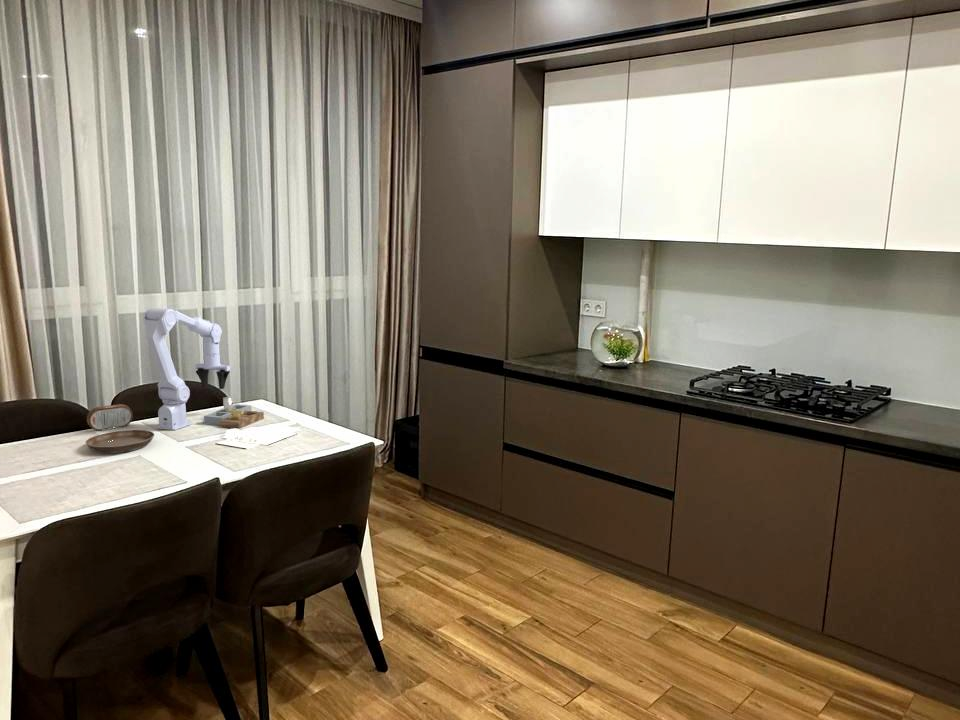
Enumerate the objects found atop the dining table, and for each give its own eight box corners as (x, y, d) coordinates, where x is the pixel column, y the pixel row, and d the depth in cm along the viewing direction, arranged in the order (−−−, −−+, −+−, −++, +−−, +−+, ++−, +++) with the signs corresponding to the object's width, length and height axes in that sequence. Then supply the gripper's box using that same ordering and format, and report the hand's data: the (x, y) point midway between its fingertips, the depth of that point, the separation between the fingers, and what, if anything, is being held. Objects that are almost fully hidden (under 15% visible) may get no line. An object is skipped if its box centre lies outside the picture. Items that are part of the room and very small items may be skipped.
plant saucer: (72, 450, 239) (71, 440, 238) (128, 435, 257) (127, 426, 256) (113, 459, 229) (112, 449, 229) (168, 443, 247) (167, 434, 247)
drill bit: (229, 419, 279) (228, 399, 277) (222, 418, 280) (221, 398, 278) (234, 417, 282) (233, 397, 280) (227, 416, 283) (226, 396, 281)
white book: (307, 431, 265) (307, 422, 264) (255, 455, 240) (254, 444, 239) (263, 425, 273) (262, 415, 272) (207, 447, 248) (207, 437, 247)
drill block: (239, 428, 266) (238, 422, 265) (220, 427, 268) (219, 420, 267) (263, 418, 281) (263, 412, 280) (245, 416, 283) (245, 410, 283)
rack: (220, 425, 270) (219, 417, 270) (204, 423, 272) (203, 415, 272) (251, 412, 289) (251, 405, 289) (236, 411, 291) (235, 404, 291)
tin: (132, 424, 271) (130, 402, 269) (134, 426, 268) (132, 403, 267) (87, 430, 261) (85, 408, 260) (89, 432, 259) (87, 409, 257)
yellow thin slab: (242, 424, 269) (241, 411, 268) (228, 423, 271) (227, 410, 270) (244, 423, 270) (243, 410, 269) (230, 422, 272) (229, 409, 271)
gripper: (234, 353, 285) (235, 387, 287) (202, 351, 289) (204, 384, 291) (222, 356, 278) (224, 390, 280) (190, 353, 282) (192, 388, 284)
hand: (213, 388), depth 285 cm, fingers open, 7 cm apart
